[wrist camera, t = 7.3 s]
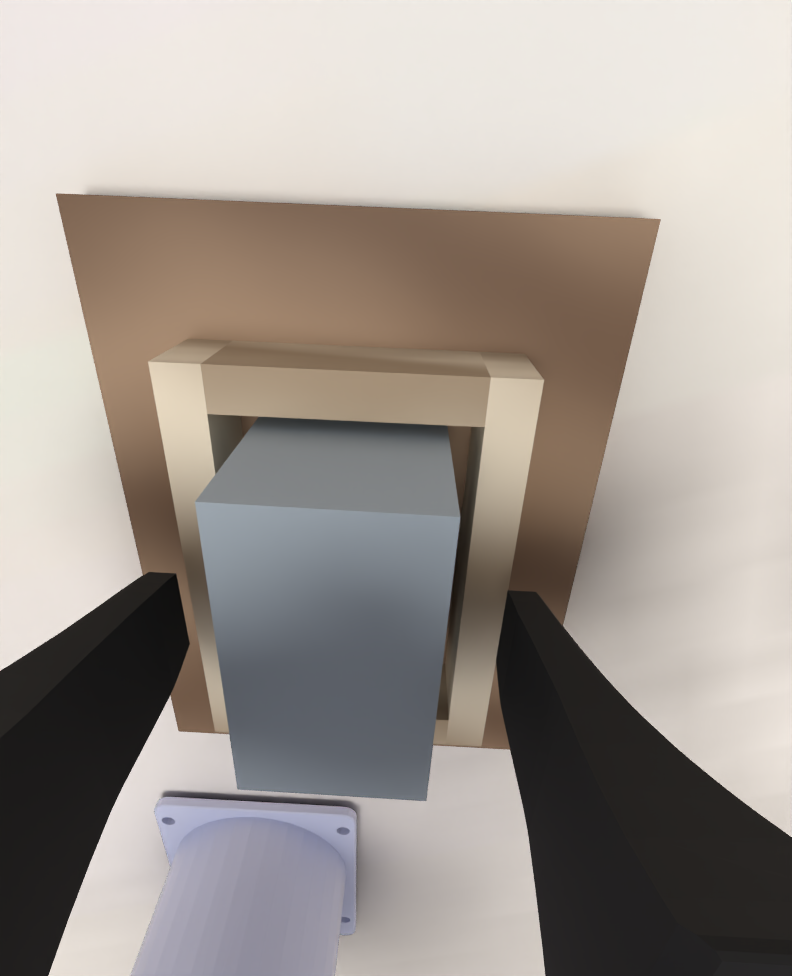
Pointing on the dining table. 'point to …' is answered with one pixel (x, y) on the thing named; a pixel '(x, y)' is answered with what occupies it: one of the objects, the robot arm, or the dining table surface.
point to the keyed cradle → (364, 382)
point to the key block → (332, 602)
